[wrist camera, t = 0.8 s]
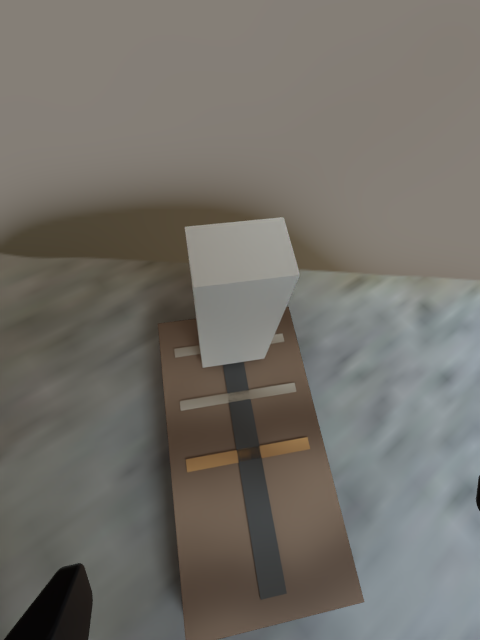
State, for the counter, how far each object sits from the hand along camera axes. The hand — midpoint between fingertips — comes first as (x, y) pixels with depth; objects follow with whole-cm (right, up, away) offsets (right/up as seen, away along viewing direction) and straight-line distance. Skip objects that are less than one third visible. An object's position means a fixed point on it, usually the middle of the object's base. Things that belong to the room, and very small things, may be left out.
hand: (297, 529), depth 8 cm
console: (-1, -3, +13) cm, 13 cm away
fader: (-2, +3, +12) cm, 13 cm away
